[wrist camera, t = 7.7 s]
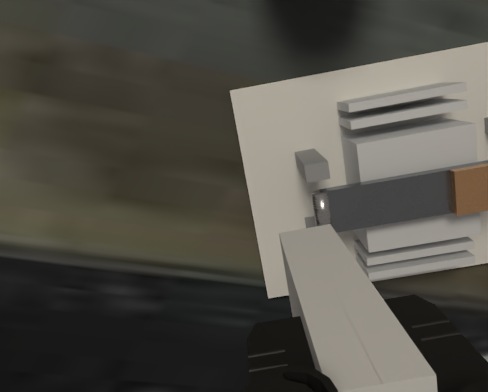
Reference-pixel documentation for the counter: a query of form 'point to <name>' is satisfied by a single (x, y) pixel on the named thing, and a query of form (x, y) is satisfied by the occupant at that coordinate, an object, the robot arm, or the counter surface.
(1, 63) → the counter surface
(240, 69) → the counter surface
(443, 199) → the lever
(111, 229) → the counter surface
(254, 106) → the heatsink base
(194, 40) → the counter surface
